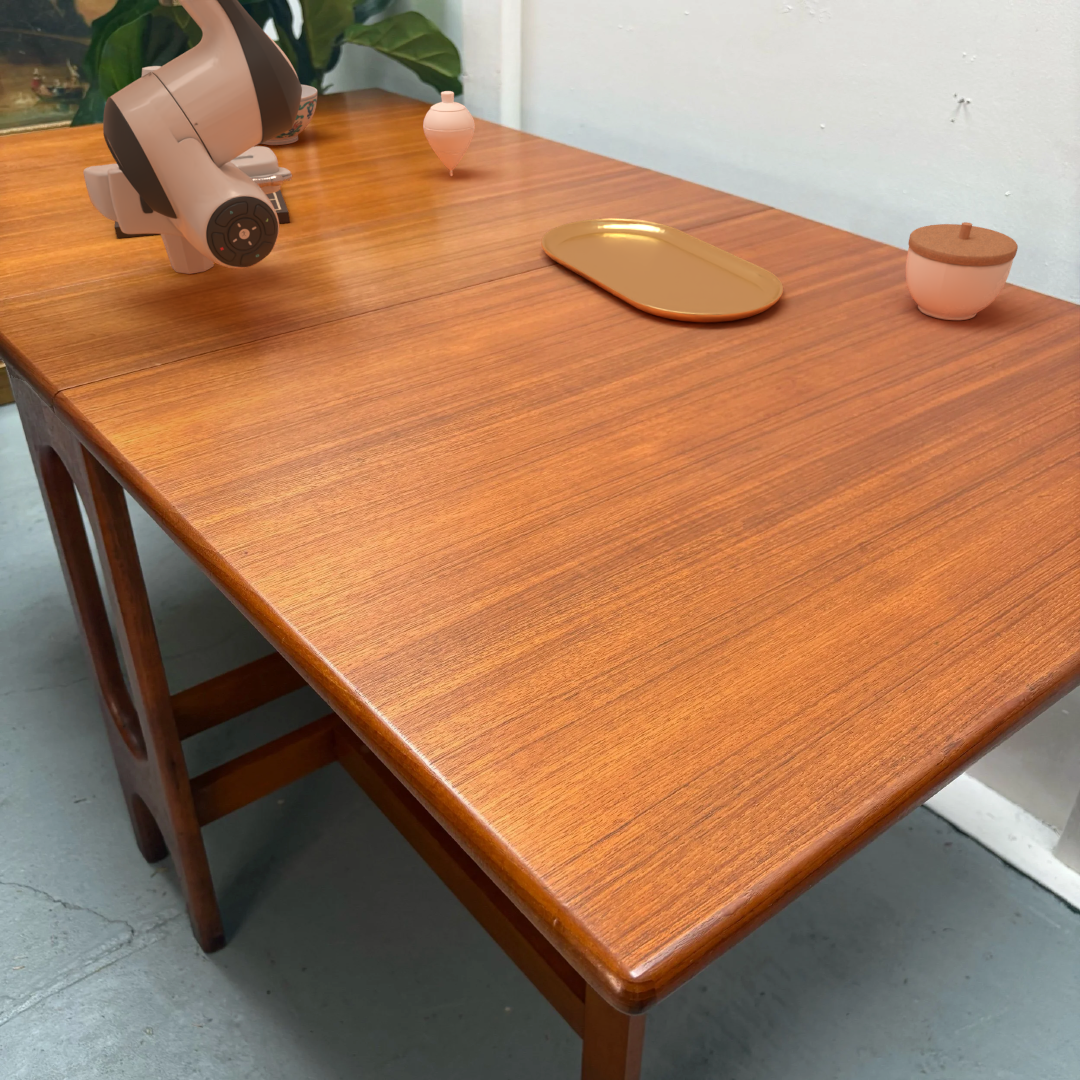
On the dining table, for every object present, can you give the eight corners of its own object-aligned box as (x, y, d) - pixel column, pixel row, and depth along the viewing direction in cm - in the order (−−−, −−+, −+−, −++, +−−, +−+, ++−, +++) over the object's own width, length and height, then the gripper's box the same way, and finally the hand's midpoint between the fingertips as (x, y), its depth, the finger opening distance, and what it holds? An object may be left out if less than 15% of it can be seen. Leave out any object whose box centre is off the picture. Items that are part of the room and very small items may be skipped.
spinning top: (484, 178, 154) (482, 94, 147) (438, 185, 151) (433, 99, 144) (463, 167, 160) (460, 84, 153) (418, 173, 157) (412, 89, 150)
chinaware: (236, 132, 179) (228, 85, 175) (322, 128, 181) (317, 82, 177) (230, 153, 167) (221, 103, 163) (322, 149, 169) (317, 99, 165)
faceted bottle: (199, 254, 126) (162, 60, 114) (231, 265, 123) (196, 67, 110) (154, 268, 122) (110, 68, 109) (186, 280, 119) (145, 75, 106)
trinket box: (1010, 304, 112) (1033, 219, 107) (984, 337, 105) (1008, 247, 99) (912, 285, 117) (930, 202, 112) (882, 314, 110) (899, 228, 104)
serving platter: (636, 222, 137) (637, 210, 136) (817, 307, 112) (819, 293, 111) (514, 244, 129) (513, 232, 128) (678, 341, 104) (679, 326, 103)
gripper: (293, 148, 109) (255, 122, 119) (92, 173, 100) (69, 143, 110) (301, 208, 112) (263, 178, 122) (107, 237, 104) (84, 202, 114)
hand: (170, 162), depth 116 cm, fingers open, 6 cm apart
